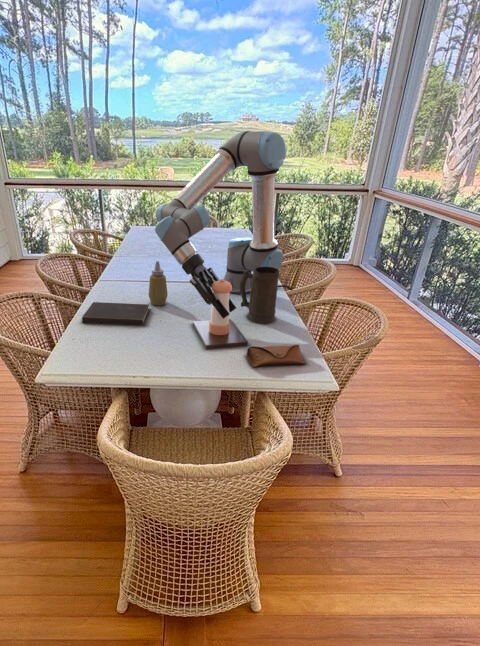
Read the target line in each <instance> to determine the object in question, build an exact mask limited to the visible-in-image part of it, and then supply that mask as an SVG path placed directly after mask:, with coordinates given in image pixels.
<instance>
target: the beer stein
mask: <svg viewBox="0 0 480 646" xmlns="http://www.w3.org/2000/svg"><path fill="white" fill-rule="evenodd" d="M280 276H281V273H280V269H279V270H278V269H276V268H273V267H257V268H255V269H254V272H252V273H249V272H248V271H243V277H242V279H241V282H240V293H241V294H240V296H241V302H240V307H242V308H244V307H246V308H247V309H248V314H247V319H248V320H250V321H251V322H253V323H257V324H270V323H273V322H274V321H275V319H276V315H275V314H276V306H277V296H278V287H277V286H278V285H279V278H280ZM247 278H251V279H252V286H251V292H249V301H248V297H247V293H246V292H245V282H246V280H247Z"/></svg>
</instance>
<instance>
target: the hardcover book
mask: <svg viewBox="0 0 480 646" xmlns="http://www.w3.org/2000/svg"><path fill="white" fill-rule="evenodd" d="M149 306H150V304H146V303H125V302H102V301H101V302H99V301H93V302H92V303H91V304H90V306H89V307H88V308H87V310H86V311H85V312H84V314H83V315H82V317H81V321H82V323H85V324H109V325H127V326H128V325H129V326H144V324H145V322H146V319H147V317H148V314H149V311H150V309H149Z"/></svg>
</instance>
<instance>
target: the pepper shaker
mask: <svg viewBox="0 0 480 646" xmlns="http://www.w3.org/2000/svg"><path fill="white" fill-rule="evenodd" d="M211 290H212V292H213V294H214V295H215V297H216V300H217V299H219V300H220V302H221V303H222V304H223V306H224V307H225V308H226V310H227V311H228V312H229V299H230V293H231V290H232V285H231V283H229V282H227V281H225V280H224V278H221V279H219V281H215V282H214V283H213V284H212V288H211ZM230 315H231V312H229V315H228V316H226V317H225V318H224V319H223V318H222V316H221V315H220V314H219V312H218V311H217V310H216V308H215V307H214V306H213V305H212V304H211V310H210V319H209V320H210V322H209V332H210V333H212V334H214V335H225V334H228V333H229V325H230V323H229V319H230Z"/></svg>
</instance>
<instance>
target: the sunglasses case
mask: <svg viewBox="0 0 480 646" xmlns="http://www.w3.org/2000/svg"><path fill="white" fill-rule="evenodd" d="M246 358H247V360H248V362H249V363H250V365H251V366H252V367H254V368H259V367H272V366H275V367H276V366H296V365H297V366H298V365H307V362H306V361H305V359H304V357H303V354H302V351H301V348H300V344H293V345H271V346H270V345H269V346H268V345H267V346H254V345H253V346H249V347H248V348H247V351H246Z"/></svg>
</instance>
